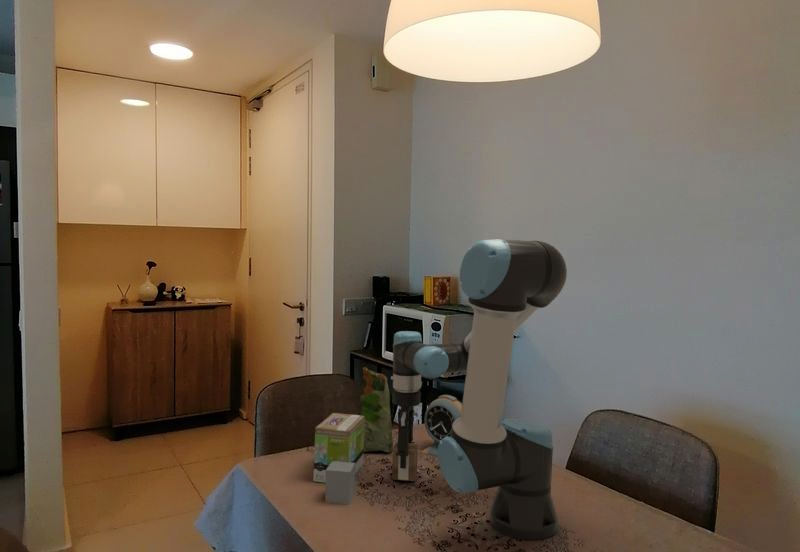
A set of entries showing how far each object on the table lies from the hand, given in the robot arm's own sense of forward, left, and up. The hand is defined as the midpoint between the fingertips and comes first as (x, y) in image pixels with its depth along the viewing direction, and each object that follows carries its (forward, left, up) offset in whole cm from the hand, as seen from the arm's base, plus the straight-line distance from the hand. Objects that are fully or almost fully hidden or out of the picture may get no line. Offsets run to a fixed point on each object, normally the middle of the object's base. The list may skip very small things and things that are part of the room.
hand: (404, 474), depth 152 cm
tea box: (0, +18, -2) cm, 18 cm away
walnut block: (0, 0, 0) cm, 0 cm away
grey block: (-15, +14, -1) cm, 20 cm away
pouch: (+20, +12, -1) cm, 24 cm away
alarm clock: (+22, -10, -1) cm, 24 cm away
